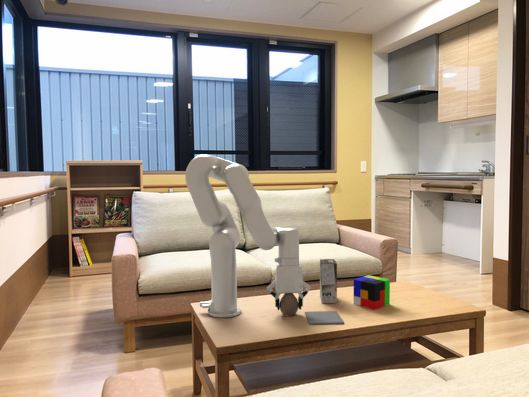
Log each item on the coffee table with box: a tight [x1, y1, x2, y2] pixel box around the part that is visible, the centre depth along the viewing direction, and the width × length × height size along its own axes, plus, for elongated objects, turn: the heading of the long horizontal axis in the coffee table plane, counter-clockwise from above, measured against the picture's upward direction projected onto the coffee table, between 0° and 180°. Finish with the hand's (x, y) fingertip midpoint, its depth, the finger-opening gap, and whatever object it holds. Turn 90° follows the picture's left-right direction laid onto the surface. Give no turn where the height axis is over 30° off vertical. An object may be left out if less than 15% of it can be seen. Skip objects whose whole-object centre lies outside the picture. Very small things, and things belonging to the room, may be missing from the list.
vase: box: [280, 293, 299, 317], centre depth 156 cm, size 7×7×9 cm
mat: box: [304, 310, 345, 326], centre depth 151 cm, size 12×12×1 cm
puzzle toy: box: [353, 275, 391, 311], centre depth 167 cm, size 10×10×10 cm
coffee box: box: [319, 258, 338, 304], centre depth 173 cm, size 9×6×16 cm
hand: (289, 308), depth 156 cm, fingers open, 7 cm apart
